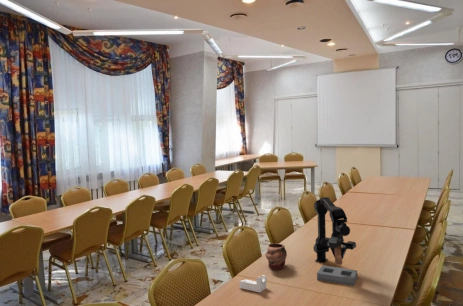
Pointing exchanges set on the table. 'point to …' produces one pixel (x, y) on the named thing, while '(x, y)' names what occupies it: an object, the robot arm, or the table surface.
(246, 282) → the bracket
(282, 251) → the decorative planter
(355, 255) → the table surface
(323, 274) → the hole board
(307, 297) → the table surface
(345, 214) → the robot arm
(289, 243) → the table surface
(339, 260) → the pin
